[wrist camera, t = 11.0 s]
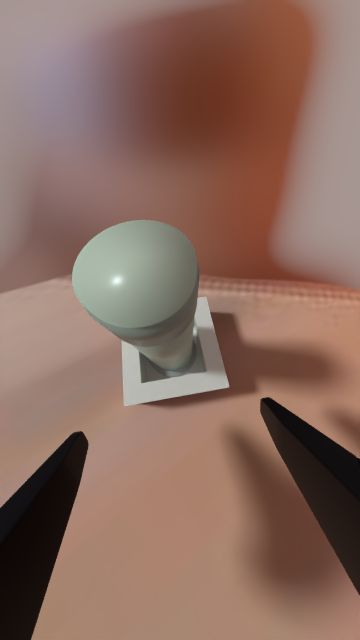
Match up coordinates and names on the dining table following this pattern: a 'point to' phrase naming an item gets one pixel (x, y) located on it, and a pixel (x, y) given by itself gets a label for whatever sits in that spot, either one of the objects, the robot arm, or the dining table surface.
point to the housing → (196, 377)
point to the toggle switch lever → (142, 288)
